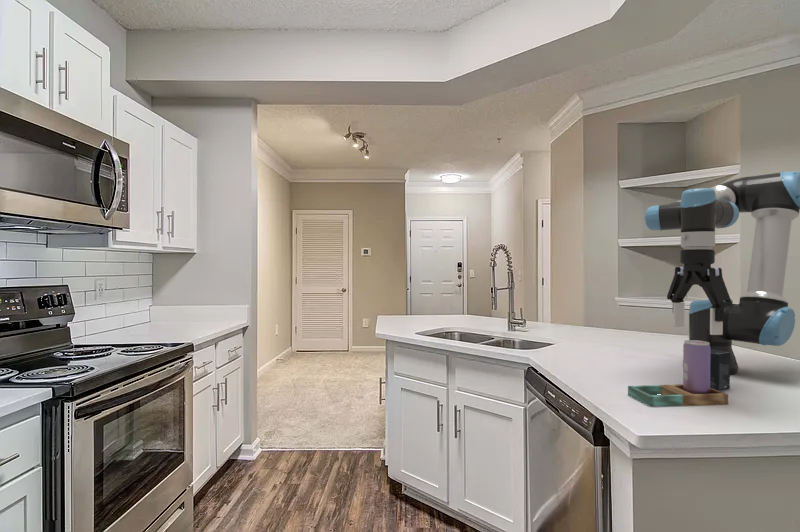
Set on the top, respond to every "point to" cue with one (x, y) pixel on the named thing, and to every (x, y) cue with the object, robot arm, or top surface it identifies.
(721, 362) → the box
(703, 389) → the beverage can
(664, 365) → the top surface
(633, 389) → the holder board
